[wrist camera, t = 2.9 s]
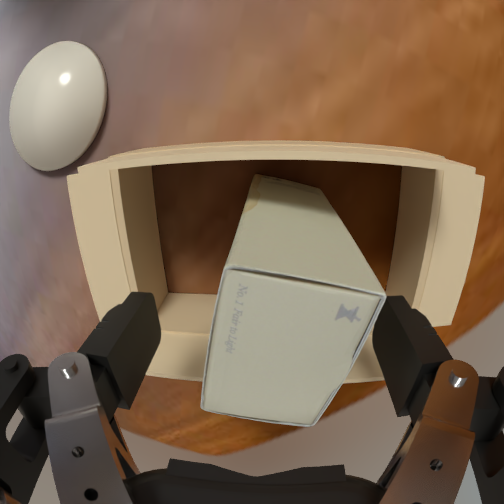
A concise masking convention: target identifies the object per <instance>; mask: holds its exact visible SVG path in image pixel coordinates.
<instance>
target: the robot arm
mask: <svg viewBox="0 0 504 504" xmlns="http://www.w3.org/2000/svg"><path fill="white" fill-rule="evenodd" d="M160 341H161V326H160V322H159V317H158V312H157V307H156V302H155V298H154V295H153V294H152V293H150V292H131V293H130V294H129V295H128V296H127V298H126V299H125V300H124V302H123V303H122V304H118V305H116V306H115V307H113V308H112V309H110V310H109V311H108V312H107V313H106V314H105V316H104V317H103V318H102V320H101V322H99V323H98V325H97V326H96V329H94V330H93V331H92V333H91V334H90V335H89V337H88V338H87V339H86V341H85V342H84V343H83V345H82V346H81V347H80V349H79V350H78V351H77V352H69V353H65V354H62V355H60V356H58V357H57V358H55V359H54V360H53V361H52V362H51V364H50V365H49V367H32V366H31V364H30V362H29V360H28V358H27V357H26V356H24V355H22V354H14V355H10V356H8V357H6V358H5V359H3V360H2V361H1V362H0V504H28V503H29V500H30V497H31V495H32V493H33V490H34V488H35V485H36V482H37V480H38V478H39V476H40V473H41V471H42V468H43V466H44V464H45V461H46V459H47V457H48V455H49V456H50V462H51V467H52V472H53V476H54V481H55V485H56V489H57V493H58V496H59V500H60V504H454V501H455V499H456V496H457V494H458V491H459V488H460V486H461V483H462V480H463V477H464V474H465V471H466V467H467V465H468V461H469V458H470V461H471V464H472V468H473V471H474V474H475V478H476V481H477V485H478V489H479V493H480V497H481V500H482V504H504V434H503V431H502V430H503V428H504V367H503V368H502V369H501V371H500V372H499V374H498V376H497V377H481V376H478V374H477V372H476V371H475V369H474V368H473V367H472V366H471V365H469V364H468V363H466V362H463V361H460V360H453V358H452V356H451V355H450V353H449V351H448V350H447V348H446V347H445V345H444V343H443V342H442V340H441V339H440V337H439V336H438V335H437V332H436V331H435V329H434V328H433V327H432V325H431V323H430V322H429V320H428V319H427V317H426V316H425V315H423V314H422V313H421V312H419V311H418V310H417V309H415V308H414V309H412V308H411V307H410V305H409V303H408V302H407V300H406V299H405V297H404V296H402V295H397V296H387V297H386V300H385V303H384V305H383V307H382V309H381V311H380V313H379V315H378V317H377V320H376V322H375V324H374V329H373V333H372V345H373V349H374V352H375V354H376V357H377V360H378V362H379V365H380V368H381V371H382V373H383V376H384V379H385V382H386V385H387V387H388V390H389V393H390V396H391V399H392V402H393V405H394V408H395V411H396V414H397V417H401V416H407V415H410V417H411V422H410V424H409V425H408V427H407V430H406V432H405V434H404V436H403V438H402V440H401V442H400V444H399V446H398V448H397V449H396V451H395V453H394V455H393V457H392V459H391V461H390V462H389V464H388V466H387V468H386V469H385V471H384V472H383V474H382V475H381V477H380V478H379V480H378V481H377V483H374V482H371V481H369V480H366V479H363V478H359V477H355V476H351V475H345V469H344V465H333V466H320V467H303V468H298V469H293V470H289V471H284V472H280V473H275V474H270V475H265V476H259V477H253V476H248V475H245V474H242V473H238V472H235V471H231V470H228V469H225V468H221V467H218V466H215V465H212V464H205V463H197V462H190V461H183V460H177V459H170V460H169V464H168V467H167V469H157V470H152V471H147V472H143V473H140V471H139V469H138V468H137V466H136V464H135V462H134V461H133V458H132V456H131V454H130V452H129V449H128V447H127V445H126V442H125V440H124V437H123V435H122V432H121V429H120V427H119V424H118V421H117V419H116V417H115V415H114V413H115V411H116V409H117V407H118V408H123V409H128V410H130V408H131V405H132V403H133V401H134V399H135V396H136V394H137V392H138V390H139V387H140V385H141V383H142V381H143V379H144V376H145V374H146V372H147V370H148V368H149V366H150V363H151V361H152V359H153V357H154V355H155V353H156V351H157V348H158V346H159V344H160ZM17 408H18V410H19V411H20V412H21V414H22V415H23V419H22V420H21V422H20V424H19V426H18V427H17V429H16V431H15V433H14V435H13V437H12V439H11V441H10V442H8V440H7V438H6V427H7V425H8V423H9V421H10V420H11V418H12V416H13V415H14V413H15V411H16V410H17Z"/></svg>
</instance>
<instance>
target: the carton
mask: <svg viewBox="0 0 504 504" xmlns="http://www.w3.org/2000/svg"><path fill="white" fill-rule="evenodd" d="M225 160H328V161H350V162H366V163H380V164H392V165H402V175H401V188H400V199H399V208H398V217H397V225H396V233H395V240H394V247H393V253H392V259H391V265H390V271H389V277H388V282H387V287H386V292H385V293H386V296H397V295H402V296H404V297H405V299H406V300H407V302H408V303H409V305H410V307H411V308H412V309H414V308H415V309H417V310H418V311H419V312H421V313H422V314H423V315H425V316H426V317H427V319H428V320H429V322H430V323H431V325H432V327H435V326H444V325H451V322H452V320H453V317H454V314H455V311H456V308H457V305H458V302H459V299H460V295H461V292H462V289H463V285H464V282H465V278H466V275H467V271H468V267H469V263H470V259H471V255H472V251H473V246H474V242H475V237H476V232H477V227H478V221H479V216H480V209H481V203H482V196H483V188H484V180H485V176H482V175H476V174H475V169H476V168H475V167H472V166H468V165H465V164H462V163H458V162H455V161H451V160H448V159H444V156H440V155H436V154H432V153H428V152H423V151H419V150H415V149H410V148H402V147H393V146H383V145H372V144H360V143H345V142H325V141H283V140H273V141H230V142H210V143H195V144H182V145H171V146H161V147H152V148H143V149H138V150H134V151H129V152H125V153H121V154H117V155H113V156H109V158H108V159H105V160H101V161H97V162H94V163H90V164H87V165H83V166H80V167H77V168H78V174H73V175H69V176H67V182H68V189H69V196H70V202H71V208H72V213H73V219H74V224H75V229H76V234H77V239H78V243H79V248H80V252H81V256H82V260H83V264H84V268H85V272H86V276H87V280H88V283H89V287H90V290H91V294H92V297H93V300H94V304H95V307H96V310H97V313H98V316H99V319H100V322H101V320H102V318H103V317H104V316H105V314H106V313H107V312H108V311H109V310H110V309H112V308H113V307H115V306H116V305H118V304H122V303H123V302H124V300H125V299H126V298H127V296H128V295H129V294H130V293H131V292H150V293H152V294H153V295H154V298H155V302H156V307H157V312H158V317H159V322H160V326H161V341H160V344H159V346H158V348H157V351H156V353H155V355H154V357H153V359H152V361H151V363H150V366H149V368H148V370H147V372H146V374H145V375H150V376H157V377H165V378H173V379H182V380H191V381H202V382H203V376H204V368H205V361H206V354H207V347H208V341H209V335H210V329H211V323H212V318H213V314H214V308H215V303H216V298H217V295H214V294H185V293H168V288H167V283H166V277H165V271H164V264H163V258H162V251H161V245H160V237H159V230H158V222H157V214H156V206H155V197H154V187H153V177H152V166H151V165H160V164H173V163H186V162H203V161H225ZM373 329H374V326H373V328H372V330H371V332H370V334H369V336H368V338H367V340H366V342H365V343H364V346H363V348H362V349H361V351H360V354H359V355H358V357H357V359H356V361H355V363H354V365H353V366H352V368H351V370H350V372H349V374H348V376H347V377H346V379H345V381H344V382H343V383H357V382H370V381H380V380H385V379H384V376H383V373H382V371H381V368H380V365H379V362H378V360H377V357H376V354H375V352H374V349H373V345H372V333H373Z"/></svg>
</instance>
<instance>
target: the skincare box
mask: <svg viewBox="0 0 504 504" xmlns="http://www.w3.org/2000/svg"><path fill="white" fill-rule="evenodd" d="M386 297H387V296H386V293H385V291H384V290H383V288H382V286H381V284H380V283H379V281H378V279H377V277H376V276H375V274H374V272H373V271H372V269H371V268H370V266H369V264H368V263H367V261H366V259H365V258H364V256H363V254H362V253H361V251H360V249H359V248H358V246H357V244H356V243H355V241H354V240H353V238H352V236H351V235H350V233H349V232H348V230H347V229H346V227H345V226H344V224H343V222H342V221H341V219H340V218H339V216H338V215H337V213H336V212H335V210H334V209H333V207H332V206H331V204H330V203H329V201H328V200H327V198H326V197H325V195H324V194H323V192H322V191H321V190H320V189H319V188H315V187H312V186H308V185H304V184H301V183H297V182H293V181H288V180H284V179H280V178H275V177H270V176H265V175H260V174H255V175H254V176H253V179H252V183H251V186H250V189H249V193H248V197H247V200H246V203H245V206H244V210H243V213H242V216H241V219H240V222H239V225H238V229H237V232H236V235H235V238H234V241H233V244H232V247H231V250H230V253H229V255H228V258H227V261H226V264H225V266H224V269H223V273H222V277H221V281H220V286H219V290H218V294H217V298H216V303H215V308H214V314H213V318H212V323H211V329H210V335H209V341H208V347H207V354H206V361H205V368H204V376H203V385H202V394H201V409H203V410H205V411H209V412H213V413H218V414H224V415H229V416H234V417H239V418H244V419H250V420H255V421H263V422H269V423H277V424H286V425H294V426H304V427H311V426H314V425H315V424H316V423H317V421H318V420H319V418H320V417H321V415H322V414H323V413H324V411H325V410H326V408H327V407H328V405H329V404H330V402H331V401H332V399H333V398H334V396H335V395H336V393H337V391H338V390H339V388H340V387H341V385H342V384H343V382H344V381H345V379H346V377H347V376H348V374H349V372H350V370H351V368H352V366H353V365H354V363H355V361H356V359H357V357H358V355H359V354H360V351H361V349H362V348H363V346H364V343H365V342H366V340H367V338H368V336H369V334H370V332H371V330H372V328H373V326H374V324H375V322H376V320H377V317H378V315H379V313H380V311H381V309H382V307H383V305H384V303H385V300H386Z"/></svg>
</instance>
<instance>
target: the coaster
mask: <svg viewBox="0 0 504 504" xmlns="http://www.w3.org/2000/svg"><path fill="white" fill-rule="evenodd" d="M106 102H107V79H106V74H105V70H104V67H103V65H102V63H101V61H100V59H99V57H98V56H97V55H96V53H95V52H94V51H93V50H92V49H90V48H89V47H87V46H86V45H83V44H80V43H77V42H72V41H62V42H57V43H54V44H52V45H50V46H48V47H46V48H44V49H43V50H41V51H40V52H39V53H38V54H36V55H35V56H34V57H33V58H32V59H31V61H30V62H29V63H28V64H27V66H26V67H25V68H24V70H23V71H22V73H21V75H20V77H19V79H18V81H17V83H16V86H15V88H14V91H13V95H12V99H11V104H10V113H9V122H10V131H11V136H12V140H13V143H14V145H15V147H16V149H17V151H18V153H19V155H20V156H21V157H22V159H23V160H24V161H25V162H26V163H28V164H29V165H30V166H32V167H34V168H36V169H39V170H43V171H52V170H57V169H60V168H63V167H66V166H68V165H70V164H72V163H73V162H75V161H76V160H77V159H79V158H80V157H81V156H82V155H83V154H84V153H85V152H86V150H87V149H88V148H89V146H90V145H91V144H92V142H93V140H94V139H95V137H96V135H97V133H98V131H99V128H100V126H101V123H102V120H103V117H104V113H105V109H106Z"/></svg>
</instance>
